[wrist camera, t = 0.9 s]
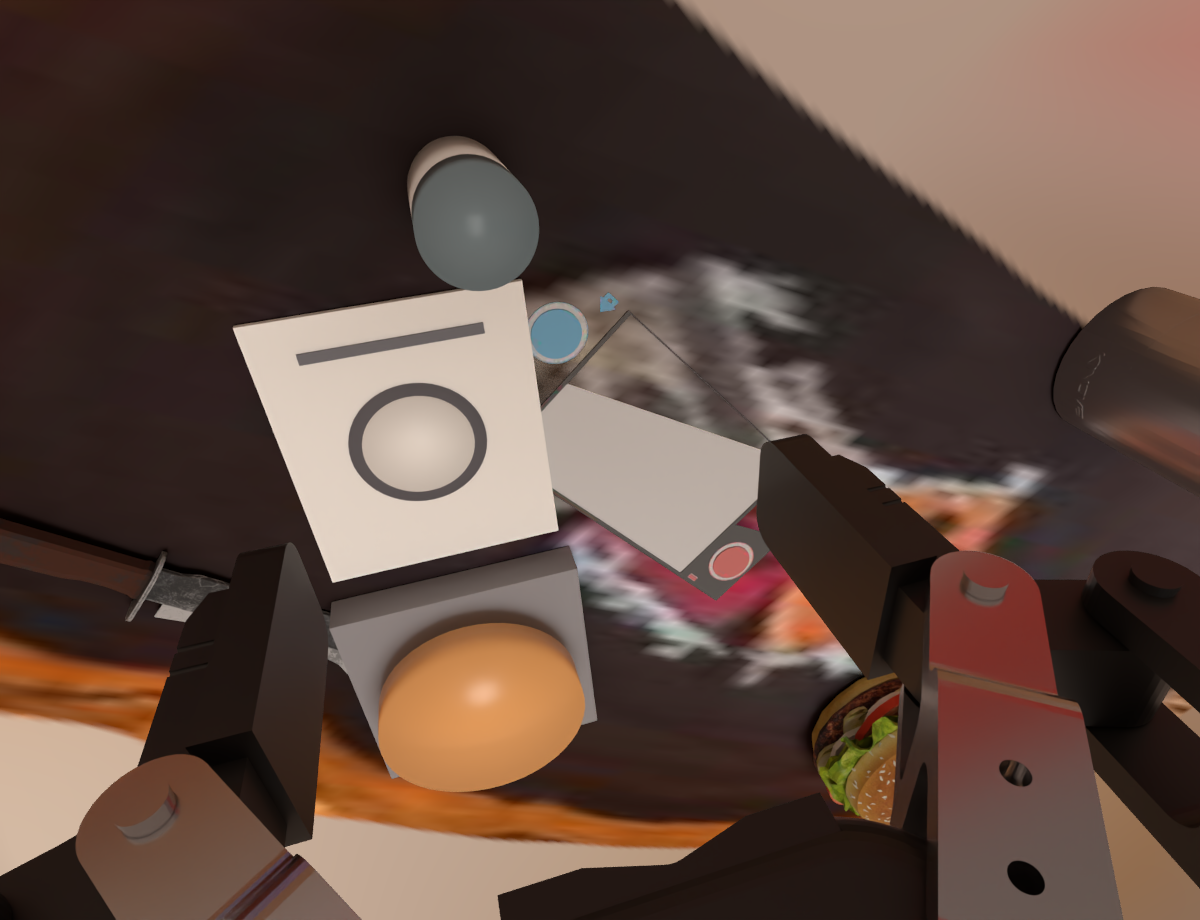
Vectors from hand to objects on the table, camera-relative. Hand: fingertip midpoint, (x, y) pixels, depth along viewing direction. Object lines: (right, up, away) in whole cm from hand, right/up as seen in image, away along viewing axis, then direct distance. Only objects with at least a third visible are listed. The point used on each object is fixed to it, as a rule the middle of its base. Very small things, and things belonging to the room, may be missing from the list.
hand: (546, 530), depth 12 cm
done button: (-6, -12, +27) cm, 30 cm away
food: (+24, -19, +45) cm, 54 cm away
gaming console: (+4, +1, +26) cm, 27 cm away
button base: (-7, -10, +29) cm, 32 cm away
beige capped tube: (-5, +12, +16) cm, 21 cm away
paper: (-8, +2, +21) cm, 23 cm away
